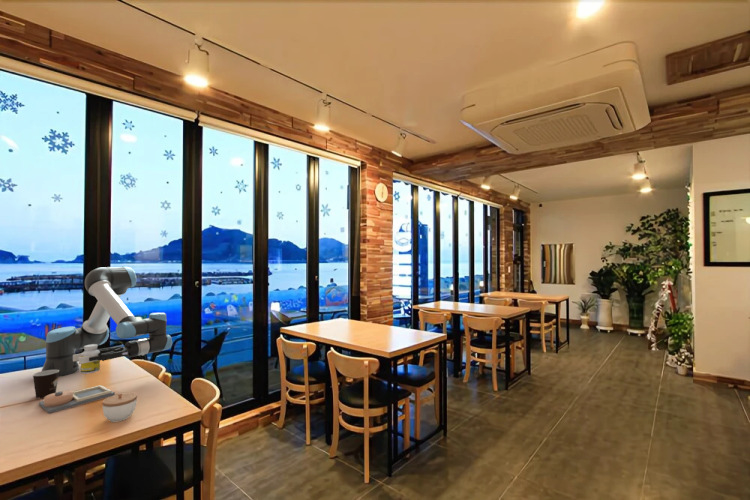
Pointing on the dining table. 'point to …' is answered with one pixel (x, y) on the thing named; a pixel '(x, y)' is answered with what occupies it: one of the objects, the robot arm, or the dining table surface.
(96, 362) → the pill bottle
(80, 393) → the board
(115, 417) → the lidded jar
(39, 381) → the dark brown tapered cup
